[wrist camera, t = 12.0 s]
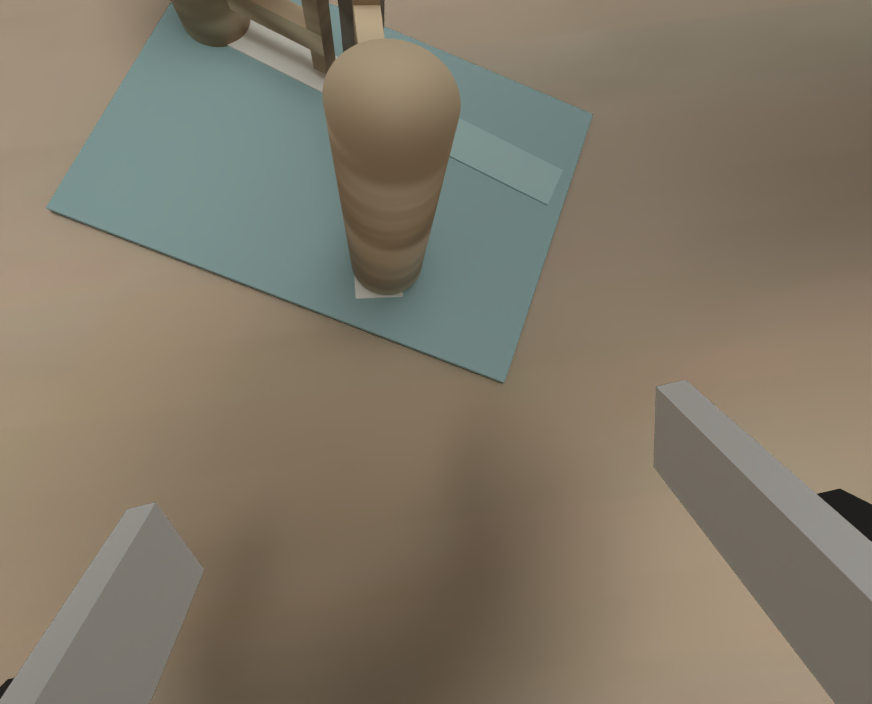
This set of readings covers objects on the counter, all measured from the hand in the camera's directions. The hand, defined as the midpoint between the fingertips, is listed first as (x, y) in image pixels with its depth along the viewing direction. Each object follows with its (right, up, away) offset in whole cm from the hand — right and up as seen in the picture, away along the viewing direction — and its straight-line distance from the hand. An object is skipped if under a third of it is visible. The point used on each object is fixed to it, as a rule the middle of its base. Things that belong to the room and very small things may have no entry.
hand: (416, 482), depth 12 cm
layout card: (-4, +14, +12) cm, 19 cm away
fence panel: (-2, +11, +11) cm, 16 cm away
